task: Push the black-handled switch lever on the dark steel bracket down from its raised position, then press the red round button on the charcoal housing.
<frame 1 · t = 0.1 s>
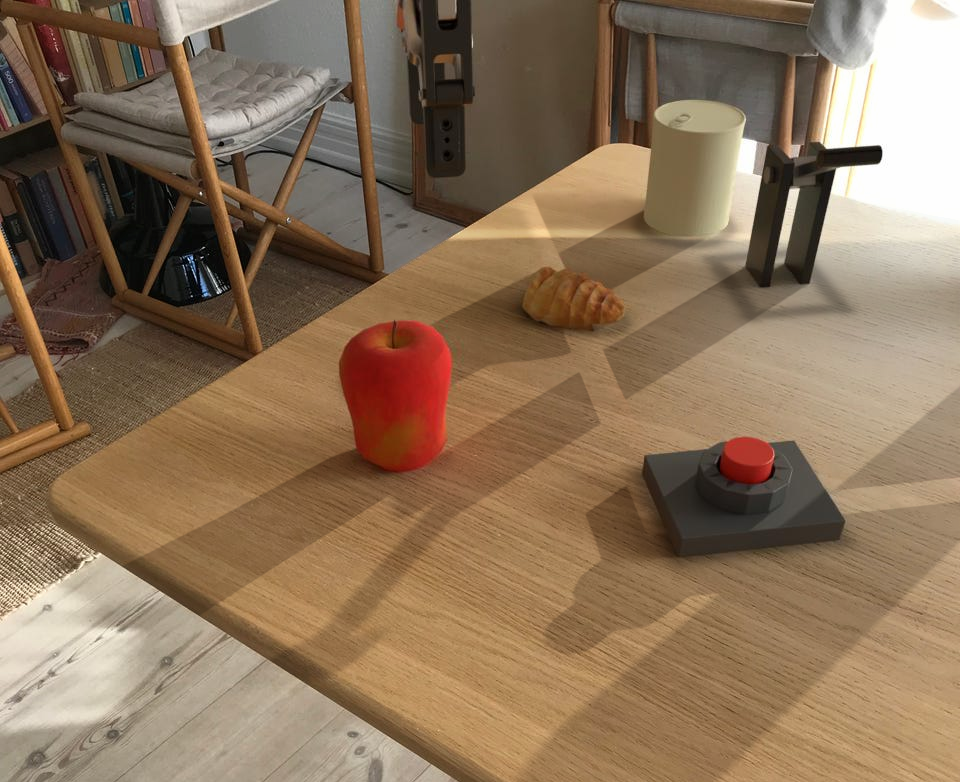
hand: (436, 146, 62), 25 cm above the table, tool pointing down, fingers open, 8 cm apart
apple: (402, 457, 83), on the table
bracket: (774, 287, 102), on the table
button: (746, 460, 75), point 4 cm above the table, slide at 0.1 cm
lever: (820, 165, 90), point 13 cm above the table, hinge at 28.0°
pastry: (569, 316, 99), on the table
button box: (736, 510, 78), on the table
can: (684, 231, 111), on the table
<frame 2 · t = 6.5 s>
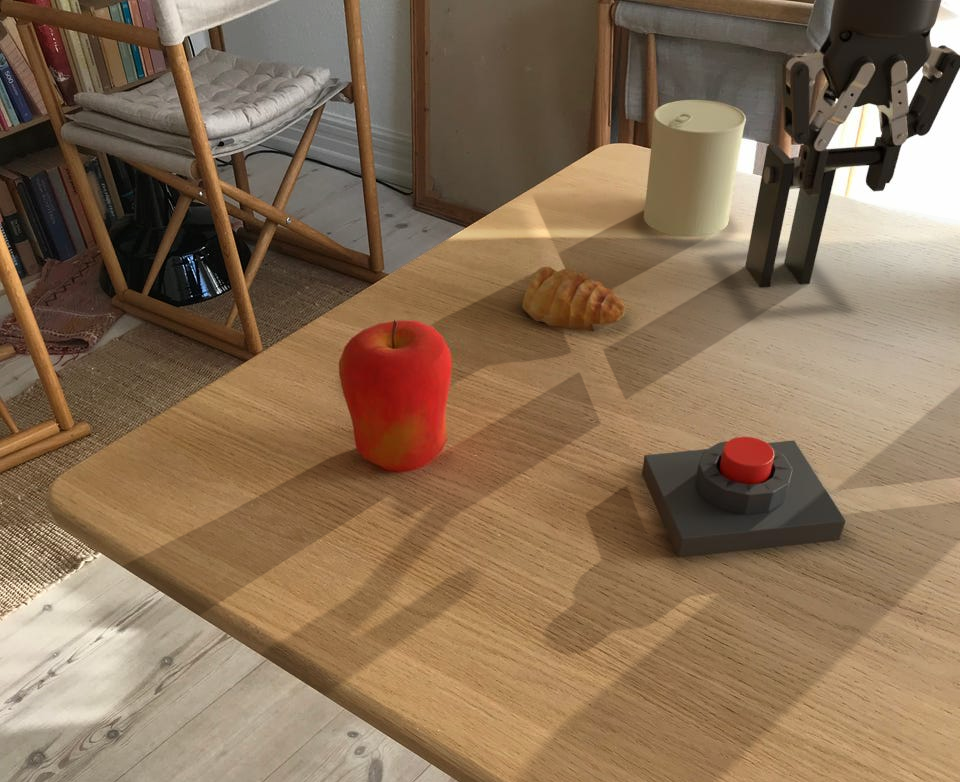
hand: (842, 189, 87), 13 cm above the table, tool pointing down, fingers closed on lever, 5 cm apart
lever: (820, 166, 90), point 13 cm above the table, hinge at 27.9°, touching gripper
everything else where it was.
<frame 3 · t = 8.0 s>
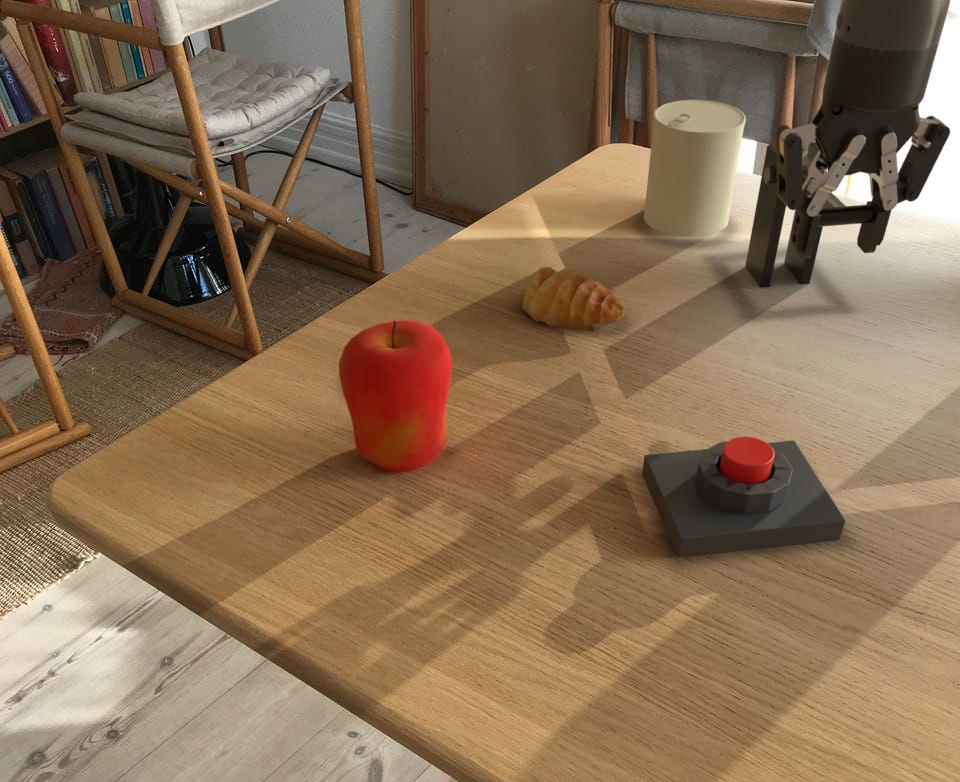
hand: (834, 250, 89), 8 cm above the table, tool pointing down, fingers closed on lever, 5 cm apart
lever: (817, 192, 91), point 11 cm above the table, hinge at 1.9°, touching gripper
everything else where it was.
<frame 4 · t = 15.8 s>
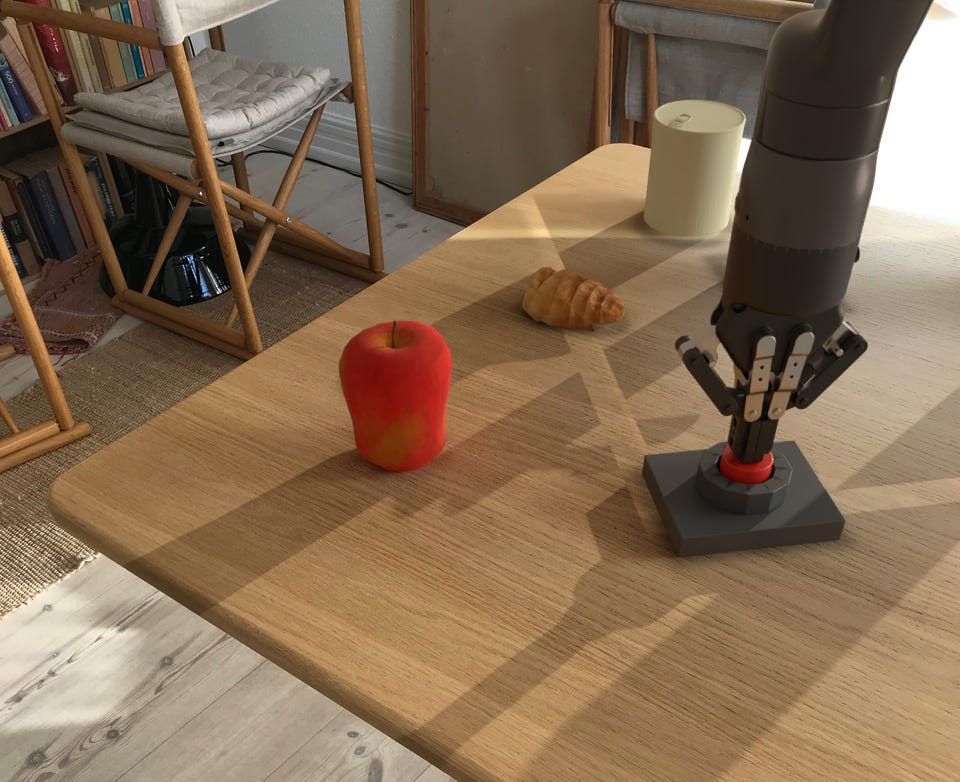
hand: (747, 456, 74), 5 cm above the table, tool pointing down, fingers closed
button: (745, 465, 75), point 4 cm above the table, slide at -0.3 cm, touching gripper
lever: (812, 210, 92), point 9 cm above the table, hinge at -20.3°
everything else where it was.
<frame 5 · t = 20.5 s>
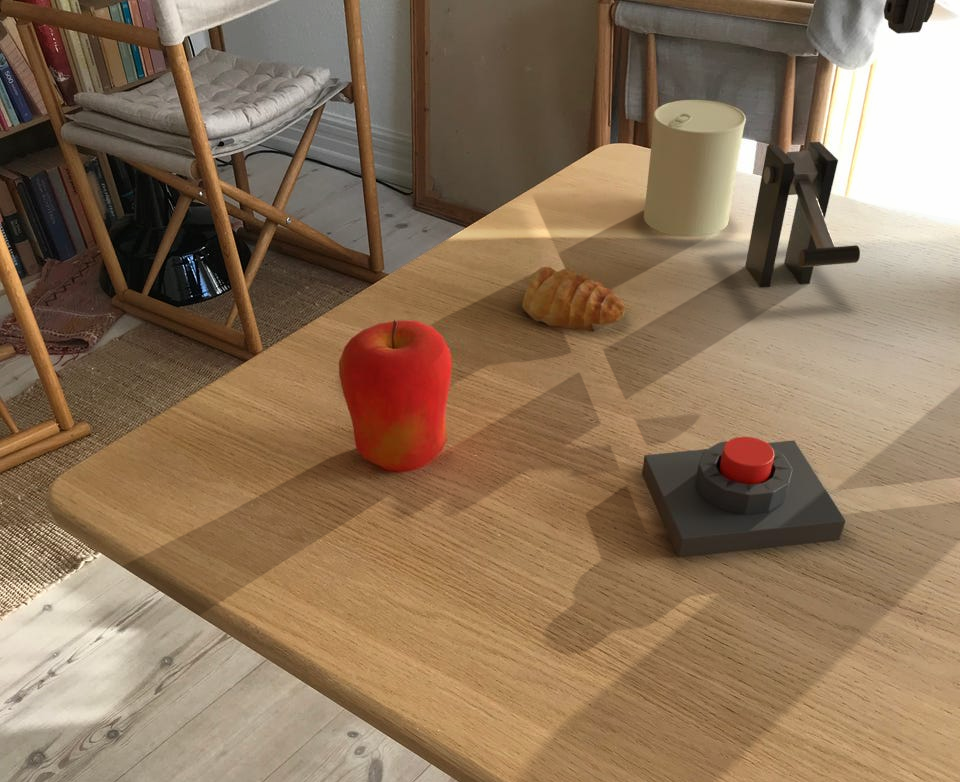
hand: (903, 29, 72), 27 cm above the table, tool pointing down, fingers closed
button: (746, 460, 75), point 4 cm above the table, slide at 0.1 cm
everything else where it was.
at the end: lever at -20° (first picture: +28°); button pushed in 1.1 cm at the most during the clip, back to where it started at the end; button slide at 0.1 cm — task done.
